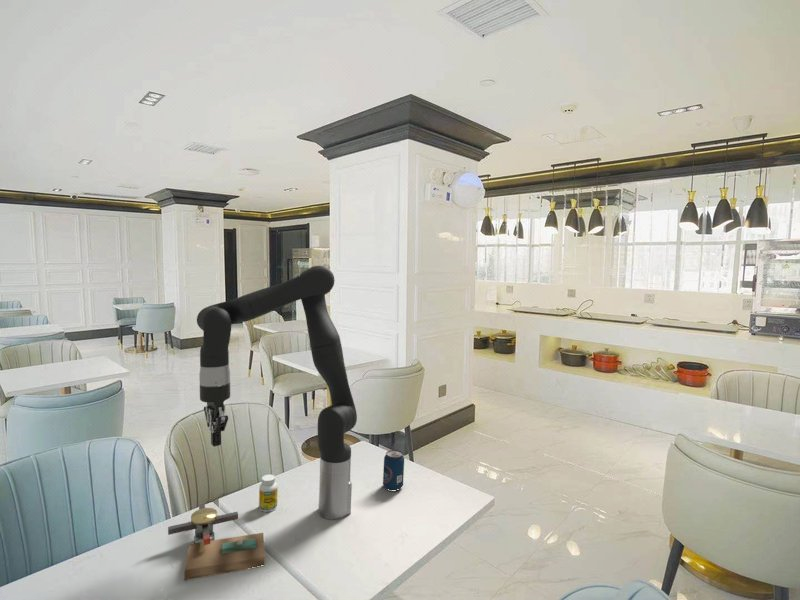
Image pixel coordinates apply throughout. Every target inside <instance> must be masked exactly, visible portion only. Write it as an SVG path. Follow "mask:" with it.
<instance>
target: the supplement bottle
mask: <svg viewBox="0 0 800 600" xmlns="http://www.w3.org/2000/svg"><path fill="white" fill-rule="evenodd" d="M278 488H279V486H278V483H277V482H276V475H275V474H266V475H265V474H264V475H263V476H262V477H261V483H260V485H259V486H258V489H259V490H258V491H259V492H258V494H259V495H258V496H259V498H258V502H259V503H258V504H259V505H258V508H259V510H260V511H261V512H263V513H265V512H266V513H268V512H273V511H275V510H276V509H277V507H278V492H279V491H278V490H279V489H278Z"/></svg>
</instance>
